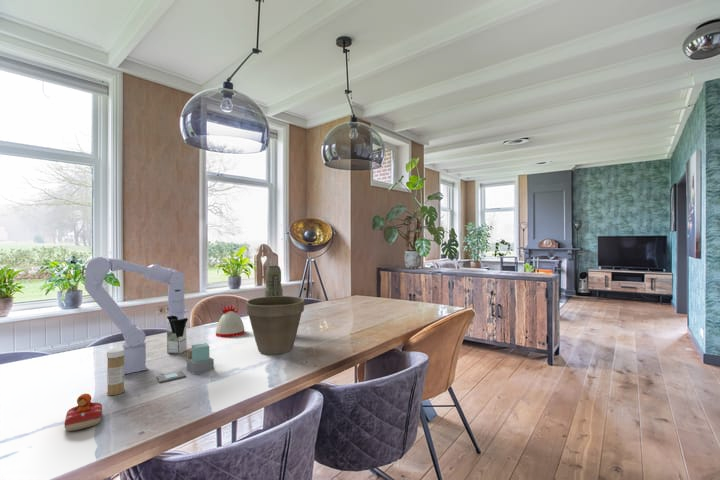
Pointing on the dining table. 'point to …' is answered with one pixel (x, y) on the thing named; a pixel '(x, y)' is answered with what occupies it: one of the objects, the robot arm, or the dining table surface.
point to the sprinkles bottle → (115, 371)
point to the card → (171, 376)
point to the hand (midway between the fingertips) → (177, 334)
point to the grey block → (200, 365)
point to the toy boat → (83, 414)
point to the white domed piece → (229, 324)
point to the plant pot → (275, 322)
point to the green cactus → (273, 282)
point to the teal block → (200, 352)
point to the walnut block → (189, 353)
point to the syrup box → (175, 341)
